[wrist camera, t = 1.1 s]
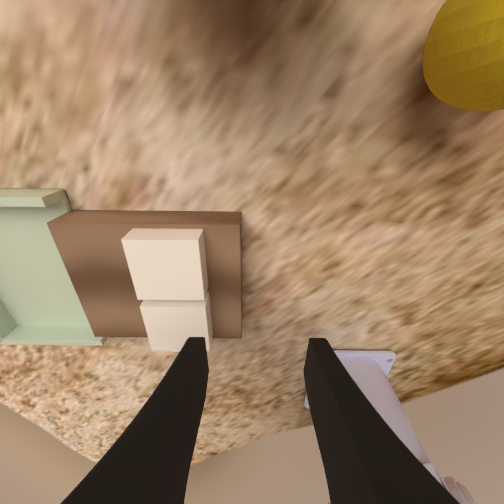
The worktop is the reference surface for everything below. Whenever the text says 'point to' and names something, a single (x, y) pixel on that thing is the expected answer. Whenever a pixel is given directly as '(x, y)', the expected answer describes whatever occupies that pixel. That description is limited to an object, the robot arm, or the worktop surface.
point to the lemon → (467, 55)
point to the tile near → (167, 263)
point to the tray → (37, 274)
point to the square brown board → (118, 274)
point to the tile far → (176, 322)
